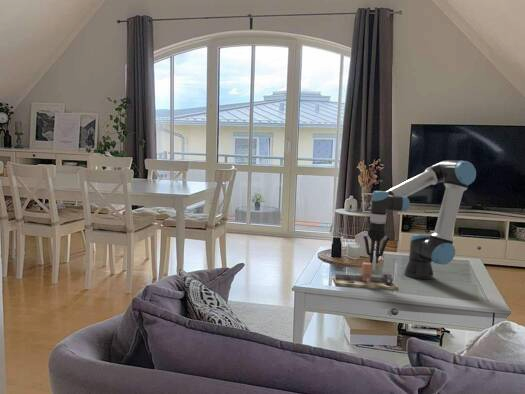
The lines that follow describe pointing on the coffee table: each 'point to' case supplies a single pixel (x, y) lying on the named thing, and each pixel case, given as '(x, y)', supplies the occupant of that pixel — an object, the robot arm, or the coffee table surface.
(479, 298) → the coffee table surface
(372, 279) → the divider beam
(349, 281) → the bolt board
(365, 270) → the sliding head
